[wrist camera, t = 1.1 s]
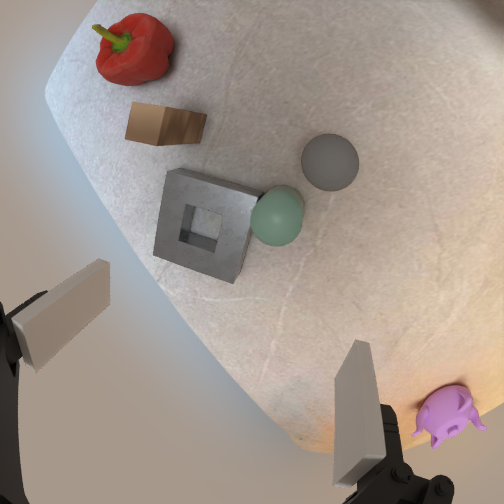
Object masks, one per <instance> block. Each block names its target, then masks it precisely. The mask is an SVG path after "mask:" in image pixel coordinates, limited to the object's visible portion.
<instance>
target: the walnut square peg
mask: <svg viewBox="0 0 504 504" xmlns="http://www.w3.org/2000/svg"><path fill="white" fill-rule="evenodd" d="M206 117H207V115H206V114H201V113H196V112H191V111H186V110H180V109H175V108H169V107H163V106H157V105H151V104H144V103H137V102H133V103H132V107H131V111H130V116H129V120H128V125H127V130H126V135H125V139H126V140H131V141H136V142H141V143H145V144H150V145H154V146H164V145H177V144H194V143H200V140H201V136H202V132H203V128H204V124H205V121H206Z"/></svg>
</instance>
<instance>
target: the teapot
mask: <svg viewBox="0 0 504 504" xmlns="http://www.w3.org/2000/svg"><path fill="white" fill-rule="evenodd" d="M472 400H473V398H472V396H471V393H470V391H469V390H468V389H467V388H466V387H463V386H459V385H450V386H446V387H443V388H441V389H439V390H437V391H435V392H434V393H433V394H431V395H430V396H429V397H428V398H427V399H426V401H425V402H424V404H423V405H422V407H421V409H420V410H419V412H418V413H417V416H416V426H417V429H416V431H415V432H414V433H413V434H412V435H411V436H416V435H418V434H420V433H421V432H422V430H423V427H424V428H425V429H426V430H427V431H428V432H429V433H430V434H431V447H432V448H433V449H436V448H437V447H439V445H440V444H441V442H442V441H443V439H445V438H449V437H454V436H456V435H457V434H458V433H460V432H461V431H462V430H463V429H464V428H465V427H466V425H467V424H468V421H469V420H471V421H472V423H473V424H474V425H475V426H476V427H477V428H478V429H479V430H487V428H486V427H485V426H484V425H483V424H482V423H481V421H480V419H479V414H478V411H477V409H476V408H475V407H474V406H473V405H472ZM437 438H438V439H437Z"/></svg>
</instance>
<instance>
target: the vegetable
mask: <svg viewBox="0 0 504 504" xmlns="http://www.w3.org/2000/svg"><path fill="white" fill-rule="evenodd" d="M92 29H94V30H95V31H96V32H97V33H99V34H100V35H101V36H103V37H102V40H101V42H100V52H99V54H98V56H97V59H96V66H97V69H98V72H99V73H100V74H101V75H102V76H103V77H104V78H105V79H106V80H107V81H110V82H112V83H115V84H120V85H124V86H137V85H140V84H142V83H143V82H145V81H146V80H156V79H158V78H159V77H161V76H162V75H163V74H164V73H165V72H166V70H167V68H168V64H169V61H168V57H167V56H168V55H169V54H170V53H171V52H172V50H173V46H174V40H173V37H172V35H171V33H170V32H169V30H168V29H167V28H166V27H165V26H164V25H163V24H162V23H161V22H160V21H159V20H158V19H156V18H155V17H152V16H150V15H148V14H144V13H136V14H131V15H128V16H127V17H125V18H124V19H123V20H121V21H120V22H118V23H115V24H114V25H112V26H111V27H109V29H108V30H107V29H105V28H104V27H102V26H101V25H100V24H99V25H98V24H95V25H93V26H92Z"/></svg>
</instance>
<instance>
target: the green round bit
mask: <svg viewBox="0 0 504 504" xmlns="http://www.w3.org/2000/svg"><path fill="white" fill-rule="evenodd" d="M303 213H304V201H303V198H302V196H301V194H300V193H299V192H298V191H297V190H296V189H294V188H292V187H290V186H286V185H280V186H275V187H273V188H272V189H270V190H269V191H268V192H267V193H266V194H265V195H264V196H263V197H262V198H261V199H260V200H259V202H258V203H257V204H256V205H255V206H254V208H253V209H252V212H251V215H250V225H251V229H252V231H253V233H254V234H255V236H256V237H257V238H258V239H259V240H260V241H262V242H263V243H265V244H267V245H271V246H283V245H286V244H288V243H290V242H292V241H293V240H294V239H295V238H296V237H297V236H298V234H299V232H300V230H301V226H302V219H303Z"/></svg>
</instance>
